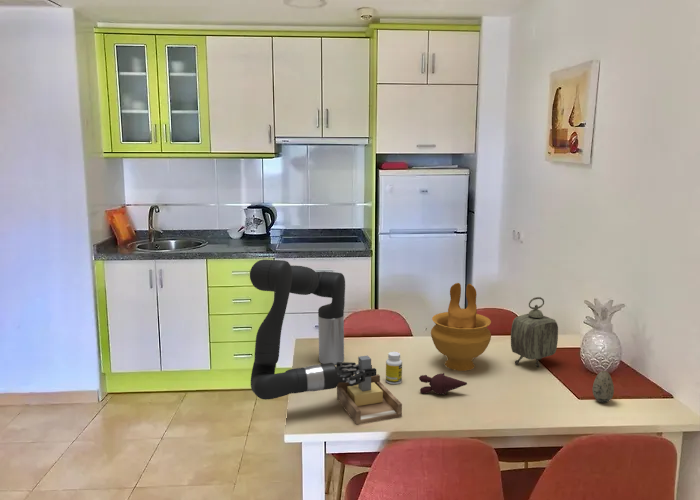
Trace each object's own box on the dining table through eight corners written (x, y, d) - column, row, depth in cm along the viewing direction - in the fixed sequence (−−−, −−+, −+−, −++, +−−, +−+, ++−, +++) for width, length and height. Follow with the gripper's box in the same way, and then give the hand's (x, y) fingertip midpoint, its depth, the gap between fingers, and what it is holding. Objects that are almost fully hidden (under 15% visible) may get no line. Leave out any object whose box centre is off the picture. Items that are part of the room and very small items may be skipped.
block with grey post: (347, 397, 176) (346, 355, 174) (374, 392, 179) (374, 352, 177) (354, 406, 170) (354, 363, 167) (382, 402, 173) (382, 359, 170)
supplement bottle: (400, 385, 188) (401, 357, 186) (384, 384, 189) (384, 356, 187) (402, 378, 193) (403, 351, 191) (386, 377, 194) (387, 350, 192)
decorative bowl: (423, 371, 199) (425, 288, 193) (437, 351, 218) (439, 275, 213) (484, 380, 191) (488, 294, 186) (493, 358, 210) (497, 279, 205)
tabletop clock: (539, 357, 211) (543, 292, 207) (558, 365, 203) (562, 298, 199) (509, 364, 205) (512, 296, 201) (527, 372, 197) (530, 303, 193)
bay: (337, 398, 178) (336, 380, 177) (378, 391, 183) (378, 374, 181) (356, 424, 161) (356, 404, 160) (401, 416, 166) (402, 397, 165)
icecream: (465, 370, 183) (419, 372, 186) (466, 373, 176) (418, 375, 178) (467, 392, 183) (420, 393, 185) (468, 396, 176) (419, 397, 178)
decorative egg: (611, 407, 171) (613, 376, 169) (590, 403, 174) (592, 372, 172) (614, 400, 176) (616, 369, 174) (593, 395, 179) (595, 365, 177)
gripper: (326, 374, 161) (382, 366, 167) (312, 357, 174) (365, 350, 180) (326, 399, 162) (382, 390, 168) (313, 380, 175) (365, 372, 181)
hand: (373, 369), depth 174 cm, fingers closed on block with grey post, 3 cm apart
